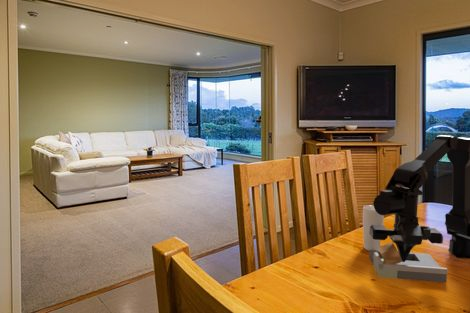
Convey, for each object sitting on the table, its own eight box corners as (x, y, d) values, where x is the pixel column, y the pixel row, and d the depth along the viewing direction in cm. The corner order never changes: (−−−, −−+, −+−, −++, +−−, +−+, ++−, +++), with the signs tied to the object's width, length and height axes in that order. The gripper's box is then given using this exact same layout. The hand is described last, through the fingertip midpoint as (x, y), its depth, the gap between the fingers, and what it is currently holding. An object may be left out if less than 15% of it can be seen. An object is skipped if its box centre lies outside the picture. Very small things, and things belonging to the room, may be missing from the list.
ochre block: (398, 255, 102) (391, 242, 102) (402, 261, 98) (396, 247, 98) (383, 260, 103) (377, 247, 103) (387, 267, 99) (381, 253, 99)
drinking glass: (359, 250, 117) (361, 208, 115) (362, 243, 123) (364, 204, 121) (381, 254, 114) (383, 211, 112) (382, 247, 120) (384, 206, 118)
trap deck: (428, 261, 108) (428, 247, 108) (446, 282, 95) (447, 267, 94) (369, 256, 112) (369, 244, 111) (378, 277, 98) (379, 262, 98)
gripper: (378, 217, 92) (375, 271, 94) (453, 221, 88) (449, 277, 90) (370, 206, 103) (367, 254, 105) (436, 209, 99) (433, 259, 101)
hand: (402, 261), depth 100 cm, fingers closed
